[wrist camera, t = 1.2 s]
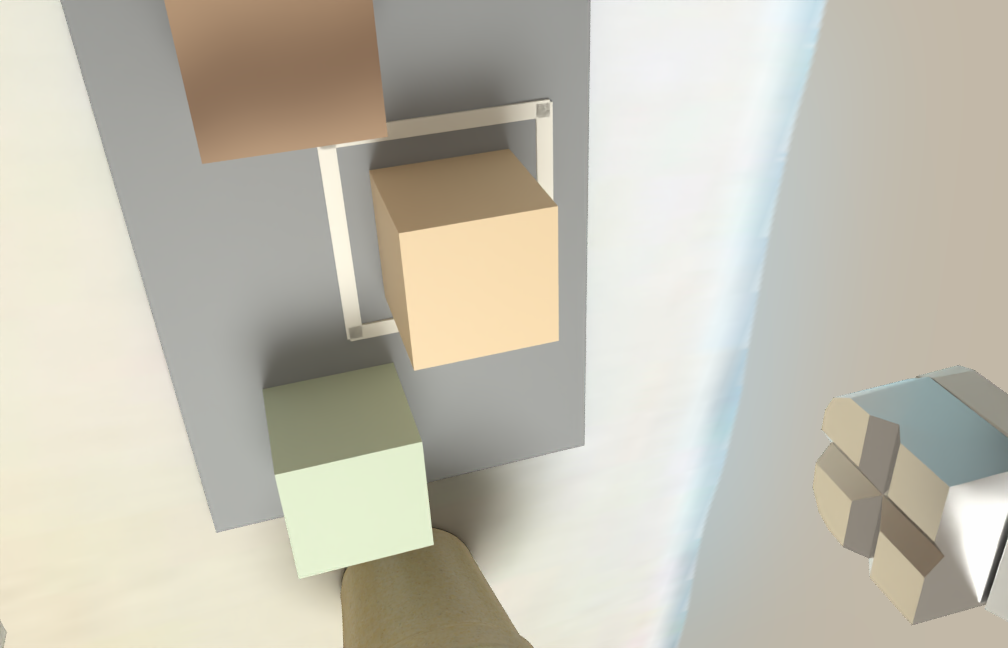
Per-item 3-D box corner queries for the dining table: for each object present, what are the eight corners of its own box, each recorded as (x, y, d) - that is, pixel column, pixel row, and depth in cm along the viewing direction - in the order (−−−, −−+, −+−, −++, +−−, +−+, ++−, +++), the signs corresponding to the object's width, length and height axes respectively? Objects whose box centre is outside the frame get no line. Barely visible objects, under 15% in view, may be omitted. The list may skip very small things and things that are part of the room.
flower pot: (345, 482, 39) (384, 643, 32) (534, 508, 43) (604, 656, 36) (277, 637, 42) (298, 813, 35) (458, 648, 46) (508, 806, 40)
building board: (29, -124, 25) (-5, -94, 20) (582, -164, 28) (665, -147, 24) (215, 519, 38) (221, 628, 33) (578, 434, 41) (630, 522, 37)
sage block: (262, 389, 34) (274, 475, 30) (393, 362, 35) (422, 441, 31) (284, 488, 37) (298, 578, 33) (405, 460, 38) (433, 544, 34)
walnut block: (158, -69, 25) (155, -35, 21) (336, -85, 27) (366, -56, 23) (197, 104, 28) (202, 164, 24) (357, 83, 29) (387, 136, 25)
